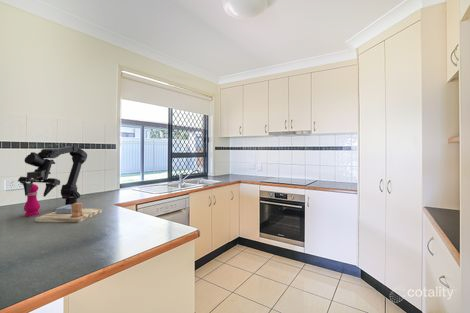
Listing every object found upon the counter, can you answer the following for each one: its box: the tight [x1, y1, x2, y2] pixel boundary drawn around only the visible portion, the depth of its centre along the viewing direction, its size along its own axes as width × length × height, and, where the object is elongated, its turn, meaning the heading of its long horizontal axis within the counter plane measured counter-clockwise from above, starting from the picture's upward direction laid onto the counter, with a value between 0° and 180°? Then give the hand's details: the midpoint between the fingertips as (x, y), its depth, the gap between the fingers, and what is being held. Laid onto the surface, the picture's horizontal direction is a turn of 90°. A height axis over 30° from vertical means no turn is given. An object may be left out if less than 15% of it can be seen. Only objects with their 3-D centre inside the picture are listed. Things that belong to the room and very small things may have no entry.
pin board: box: [34, 208, 103, 223], centre depth 133 cm, size 20×24×2 cm
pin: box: [71, 202, 83, 217], centre depth 127 cm, size 4×4×9 cm
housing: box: [55, 205, 72, 214], centre depth 136 cm, size 9×9×3 cm
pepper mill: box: [23, 182, 41, 217], centre depth 135 cm, size 7×7×20 cm
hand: (35, 196), depth 127 cm, fingers open, 9 cm apart
